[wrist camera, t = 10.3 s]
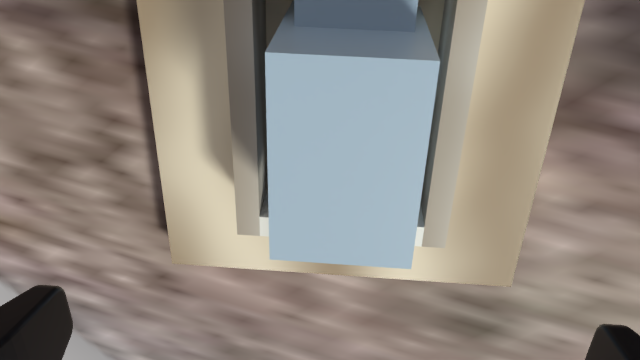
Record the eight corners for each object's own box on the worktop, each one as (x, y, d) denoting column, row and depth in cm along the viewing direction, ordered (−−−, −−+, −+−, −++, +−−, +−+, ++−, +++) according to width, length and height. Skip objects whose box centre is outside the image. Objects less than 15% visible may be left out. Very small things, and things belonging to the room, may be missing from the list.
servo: (426, -46, 17) (449, -8, 12) (397, 208, 21) (405, 309, 16) (293, -51, 17) (263, -16, 12) (292, 201, 21) (270, 299, 16)
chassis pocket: (617, -181, 15) (674, -191, 13) (505, 271, 23) (524, 327, 20) (123, -194, 16) (71, -205, 13) (179, 249, 24) (153, 301, 21)
